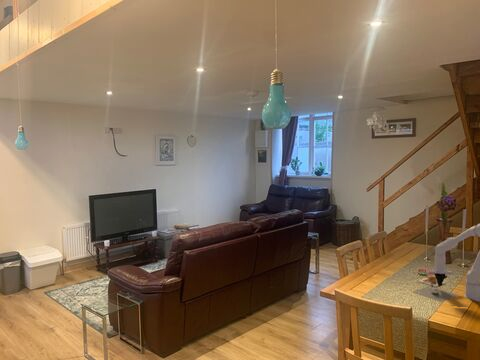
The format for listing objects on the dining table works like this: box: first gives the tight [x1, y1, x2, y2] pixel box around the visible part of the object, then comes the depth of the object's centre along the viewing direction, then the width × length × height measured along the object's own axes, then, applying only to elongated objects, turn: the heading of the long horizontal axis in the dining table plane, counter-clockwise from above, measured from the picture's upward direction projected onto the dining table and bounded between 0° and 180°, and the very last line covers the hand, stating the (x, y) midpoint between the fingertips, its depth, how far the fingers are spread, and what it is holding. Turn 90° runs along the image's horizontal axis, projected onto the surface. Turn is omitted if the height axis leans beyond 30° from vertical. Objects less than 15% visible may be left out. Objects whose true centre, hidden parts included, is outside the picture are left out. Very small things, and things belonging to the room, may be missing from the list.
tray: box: [418, 277, 446, 288], centre depth 236 cm, size 11×11×2 cm
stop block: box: [427, 274, 437, 285], centre depth 235 cm, size 4×4×5 cm
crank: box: [429, 281, 439, 295], centre depth 221 cm, size 10×4×5 cm, turn 167°
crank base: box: [412, 285, 458, 303], centre depth 218 cm, size 18×18×1 cm
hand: (439, 285), depth 223 cm, fingers closed
